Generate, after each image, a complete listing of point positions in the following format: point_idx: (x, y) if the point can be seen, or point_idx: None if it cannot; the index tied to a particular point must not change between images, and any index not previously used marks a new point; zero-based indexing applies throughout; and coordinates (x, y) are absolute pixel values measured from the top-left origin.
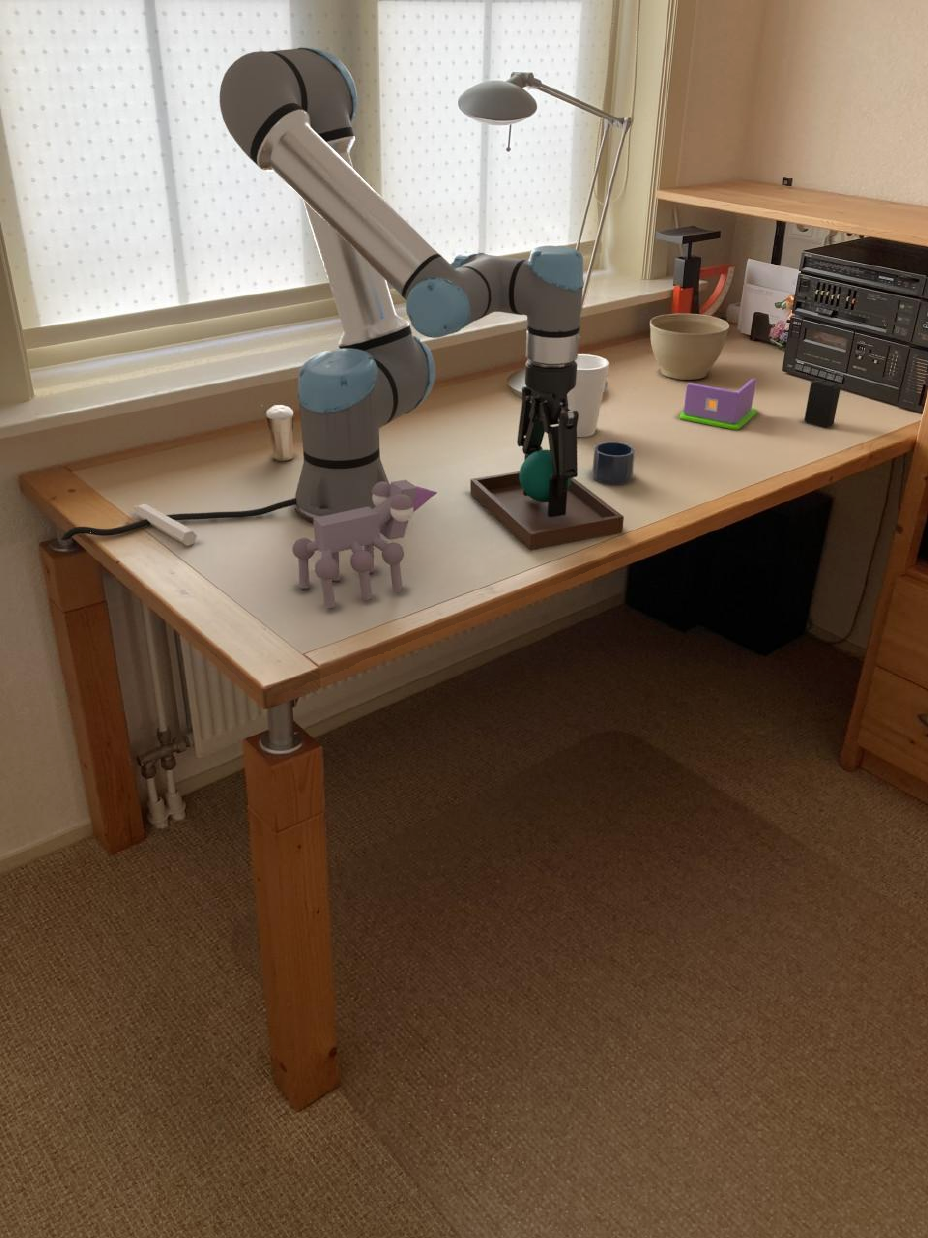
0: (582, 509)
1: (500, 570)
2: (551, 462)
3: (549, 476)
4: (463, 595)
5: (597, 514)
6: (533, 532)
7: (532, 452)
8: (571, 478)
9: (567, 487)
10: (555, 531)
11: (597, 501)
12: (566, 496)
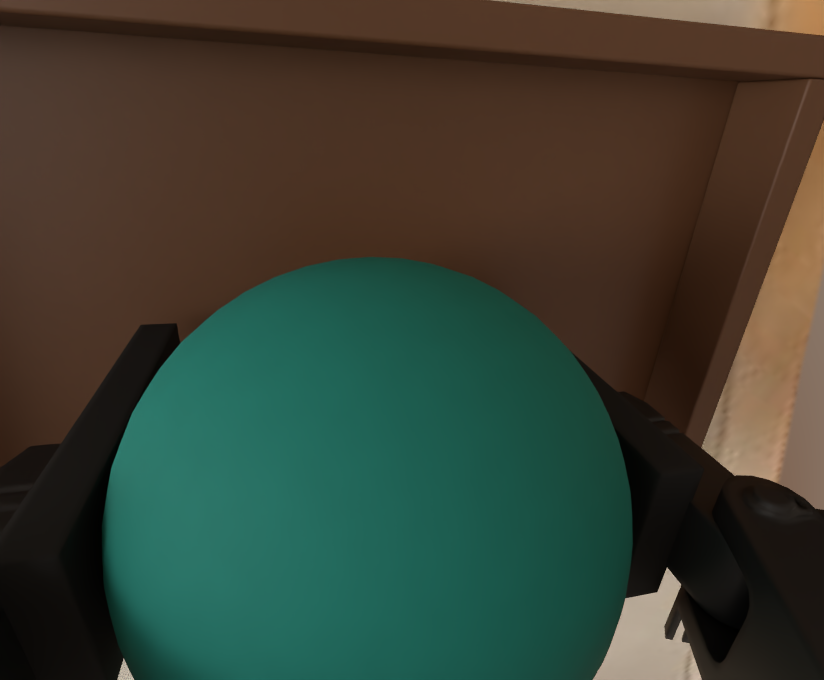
0: (453, 137)
1: (658, 595)
2: (599, 666)
3: (671, 631)
4: (691, 673)
5: (558, 83)
6: None
7: (10, 677)
8: (516, 302)
9: (686, 437)
10: None
11: (568, 60)
12: (633, 397)
